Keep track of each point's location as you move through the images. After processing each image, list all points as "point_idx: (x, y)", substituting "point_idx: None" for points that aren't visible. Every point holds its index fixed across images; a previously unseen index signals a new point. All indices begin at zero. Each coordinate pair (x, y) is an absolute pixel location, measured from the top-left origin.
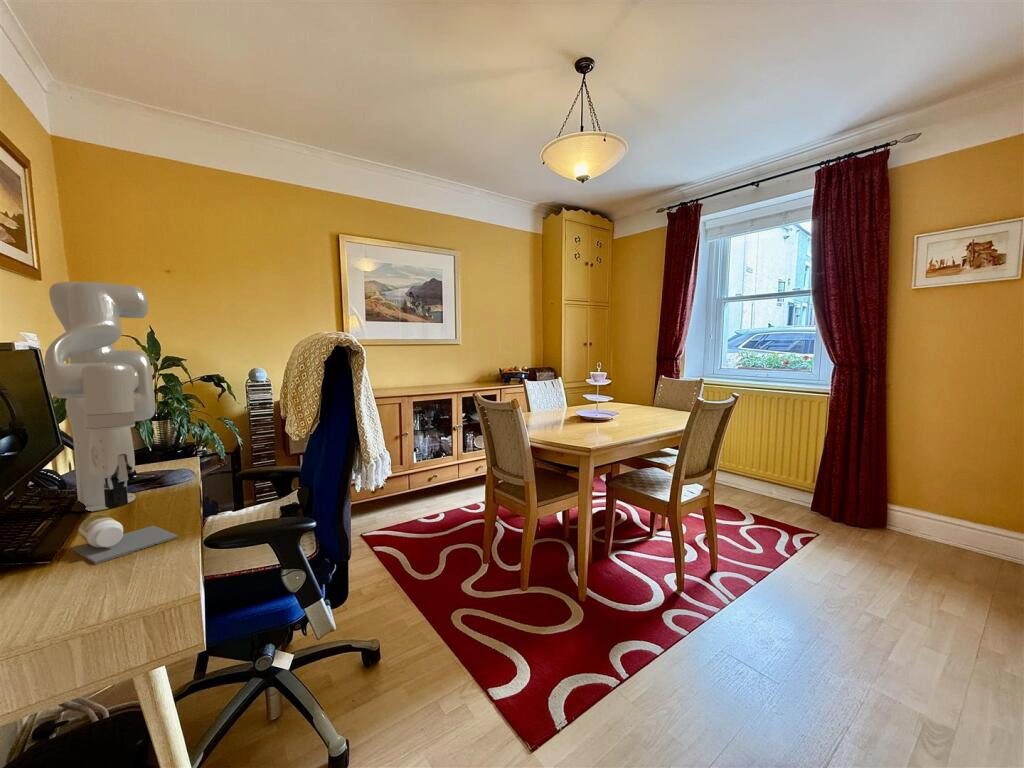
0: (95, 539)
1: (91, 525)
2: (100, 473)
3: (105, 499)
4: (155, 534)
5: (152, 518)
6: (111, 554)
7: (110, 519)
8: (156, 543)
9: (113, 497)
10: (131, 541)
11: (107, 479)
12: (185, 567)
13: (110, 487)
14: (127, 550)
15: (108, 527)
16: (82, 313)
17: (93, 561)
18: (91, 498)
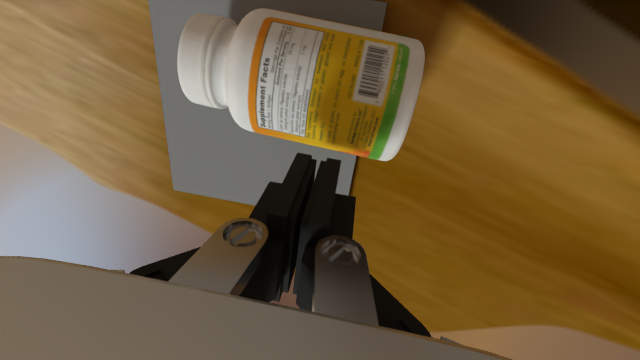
0: (206, 14)
1: (281, 46)
2: (41, 305)
3: (321, 179)
4: (245, 177)
5: (448, 264)
6: (172, 29)
7: (262, 116)
8: (168, 139)
9: (264, 199)
10: None
11: (312, 308)
12: None
13: (215, 232)
14: (166, 70)
15: (178, 65)
16: None
17: None
18: None
